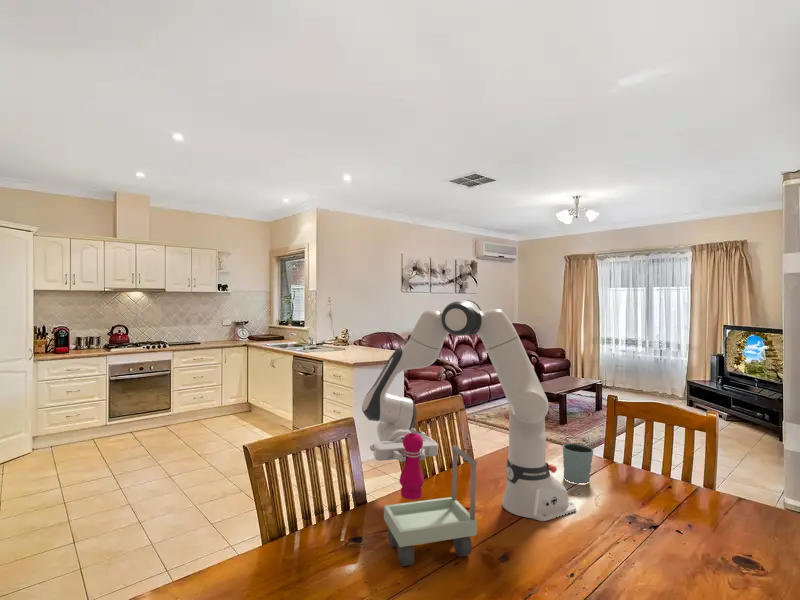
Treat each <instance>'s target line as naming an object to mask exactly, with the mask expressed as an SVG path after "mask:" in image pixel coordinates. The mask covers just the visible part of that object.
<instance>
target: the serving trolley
mask: <svg viewBox="0 0 800 600" xmlns="http://www.w3.org/2000/svg"><path fill="white" fill-rule="evenodd" d="M451 449H452V472H451V473H452V479H451V496H450V497H443V498H442V497H440V498H433V499H425V500H417V501H410V502H402V503H401V502H400V503H394V504H393V503H391V504H386V505H383V520H384V522H385V524H386V526H387V535H388V536H387V537H388V542H389V545H390V547H391V548H396V551H397V557H398V561H399V564H400V566H401V567H407V566H408V567H409V566H413V565H414V563H415V546H416V545H417V546H418V545H422V544H429V543H437V542H442V541H447V540H452V544H453V548H454V551H455V554H456V555H457V556H458V557H459V558H460V557H466V556H470V555H471V554H472V548H473V543H472V540H471V537H474V536H477V534H478V521H477V519H476V518H475V517H476V489H477V488H476V483H477V482H476V479H477V471H476V470H477V465H478V462H477V460H475V459H474V458H473V457H472V456H471V455H469V454H468V453H466V452H465V451H464V450H462V449H461V448H460V447H458V446H457V445H455V444H454V445H452V446H451ZM458 455H459V456H460V457H461V458H463V460H465V461H466V462H467V463H469V464H470V495H469V496H470V500H469V501H470V502H469V503H470V505H469V506H470V507H469V511H468V510H467V509H466V508H465V507H464V506H463V505H462V504H461V503H460V502H459V501H458V500H457V486H458V485H457V482H458V481H457V479H458V478H457V476H458V475H457V474H458Z"/></svg>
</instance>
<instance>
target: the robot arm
mask: <svg viewBox="0 0 800 600" xmlns="http://www.w3.org/2000/svg"><path fill="white" fill-rule="evenodd" d="M449 334H451V335H453V336H458V337H459V336H460V337H461V336H469V335H470V336H471V335H477V336H478V337H479V338H480V340H481V341H482V343H483V344H482V345H483V346H484V348H485V350H486V353H487V355H488V357H489V358H488V359H490V362H491V364H492V366H493V369H494V371H495V373H496V376H497V379H498V380H499V383H500V386H501V388H502V391H503V394H504V395H505V397H506V401H507V402H508V405H509V406H508V411H509V412H508V413H509V415H508V458H507V459H506V479H507V480H506V487H505V491H504V496H503V499H502V502H501V506H502V507H503V508H504V510H506V511H507V512H509V513H511V514H514V515H515V516H520V517H523V518H530V519H533V520H536V521H539V522H546V521H549V520H554V519H556V517H557V518H560V517H562V515H563V516H566V515H569V514H568V513H570V514H572V513H571V512H573V513H575V512H574V511H576V512H577V506H576V505H575V503H573V501H572V500H570V498H569V495H568V491H567V488H566V487H565V486H564V485H563V484H562V483H561V482H560V481H558V480H557V479H556V478H555V477H554V476H553V475H552V474H551V473H553V474H554V473H557V470H558V469H557V466H555V465H553V464H549V463H548V462H546V445H547V443H546V441H547V439H546V420H545V419H546V416H547V413H548V411H549V400H548V397H547V395H546V393H545V391H544V388H543V387H542V384H541V381H540V379H539V377H538V375H537V373H536V370H535V369H534V367H533V364H532V362H531V361H530V358H529V356H528V354H527V351H526V349H525V347H524V345H523V343H522V340H521V339H520V336H519V334H518V332H517V329H516V328H515V326H514V325H513V323H512V321H511V319H510V318H509V317H508V315H507V314H506V313H505V312H504V311H503V310H502V309H500V308H491V309H488V310H485V311H484V310H482V309H481V308H480V306H479V305H478V304H477V303H476V302H475V301H473V300H469V299H458V300H455V301H453V302H450V303H449V304H447V305H446V306H445V308H444V309H443V310H442V311H440V310H437V309H427V310H424V312H422V314H421V315H420V317H418V321H416V324H415V326H414V328H413V330H412V332H411V335H410V337H409V339H408V341H407V342H406V343H405V344H404V345H403V346H402V347H401V348H399V349H396V350H395V351H393V352H392V354H391V355H390V357H389V359H388V360H387V362H386V364H385V365H384V366H383V368H382V370H381V372H380V374H379V376H378V377H377V379H376V381H374V384H373V385H372V387H371V388H370V389H369V391H368V392H367V393H366V395H365V397H364V399H363V402H362V405H361V410H362V413H363V414H364V416H365V418H367V420H368V421H373V422H375V421H376V422H379V423H378V424H377V426H376V434H377V437H378V440H379V441H376V442H374V443H373V444H371V445H369V450H370V451H372V452H373V457H374V459H375V461H377V462H378V461H381V462H382V461H390V460H392V461H394V460H396V461H399V462H400V463H406V456H405V455H404V452H405V451H404V450H405V447H404V446H403V439H404V437H405V435H407V434H408V433H411V432H410V430H411V429H412V428H414V425H415V423H416V419H417V416H418V410H417V407H416V406H417V405H416V404H415V402H414V400H413V399H412V398H409V397H405V396H401V395H396V394H392V393H389V392H388V390H389V388H390V387H391V385H392V383H393V382H394V379H395V378H396V377H397V375H399V374H401V372H404V371H408V370H415V369H418V370H419V369H424V368H426V367H429V366H431V365H433V364H434V363H435V362H436V361H437V359H439V355H440V353H441V350H442V348H443V345H444V343H445V340H446V339H447V337H448V335H449ZM387 392H388V393H387ZM389 411H390V412H389ZM416 433H417V434H419V435H420V436H421V437H422V439H423V446H422V447H421V449H420V450H421V455H420V456H419V461H425V460H426V458H427V457H436V456H437V455H438V453H439V445H438V443H437V442H436V440H435V439H433V438H432V437H430V436H428V435H427V434H426V432H424V431H417V430H416ZM550 472H551V473H550ZM565 514H566V515H565ZM559 516H560V517H559Z"/></svg>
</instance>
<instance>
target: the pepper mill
mask: <svg viewBox="0 0 800 600" xmlns="http://www.w3.org/2000/svg"><path fill="white" fill-rule="evenodd" d="M416 431H417V429H416V428H415V427H412V429H411V430H410V432H411V433H408V434H407V435H405V437H404V439H403V446H404V447H405V450H404V451H405V452H404V455H405V456H406V462H404V467H403V469H402V471H401V473H400V476H399V484H400V485H401V488H400V495H401V498H404V499H406V500H410V501H411V500H413V501H415V500H417V499H420V498H422V497H423V496H422V495H423V488H422V487H423V485H424V483H425V478H424V474H423V471H422V469H421V466H420V459H419V456H420V455H421V450H420V449H421V447H422V446H423V439H422V437H421V436H420V435H419V434H417V433H416Z"/></svg>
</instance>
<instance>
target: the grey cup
mask: <svg viewBox="0 0 800 600" xmlns="http://www.w3.org/2000/svg"><path fill="white" fill-rule="evenodd" d="M562 453H563V454H562V457H563V479H564V478H565V479H566V480H568V481H570V482H574V483H587V482H589V483H590V479H591V471H592V470H591V469H592V462H593V455H594V449H593V448H592V447H590V446H587V445H584V444H581V443H580V444H579V443H564V444H563V445H562Z"/></svg>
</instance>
